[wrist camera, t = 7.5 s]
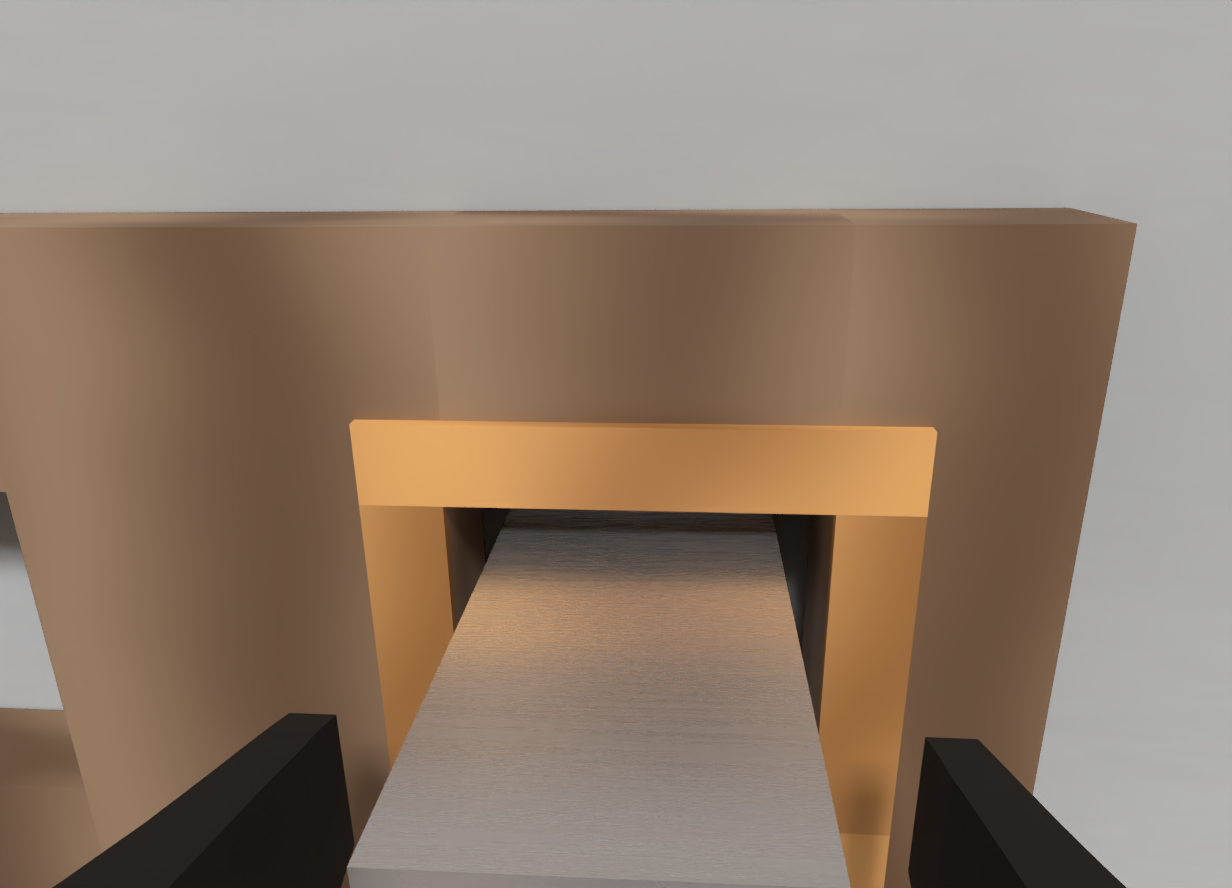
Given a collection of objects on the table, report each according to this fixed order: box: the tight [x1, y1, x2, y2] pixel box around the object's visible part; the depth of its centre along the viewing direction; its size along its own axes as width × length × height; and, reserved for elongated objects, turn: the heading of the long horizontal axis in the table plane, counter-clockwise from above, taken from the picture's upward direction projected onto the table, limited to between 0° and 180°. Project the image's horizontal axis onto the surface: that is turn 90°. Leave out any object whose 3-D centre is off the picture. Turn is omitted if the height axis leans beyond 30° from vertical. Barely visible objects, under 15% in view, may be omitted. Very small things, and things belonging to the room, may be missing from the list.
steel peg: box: [347, 508, 851, 888], centre depth 11 cm, size 4×4×8 cm
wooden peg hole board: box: [0, 208, 1137, 888], centre depth 15 cm, size 24×13×2 cm, turn 90°
